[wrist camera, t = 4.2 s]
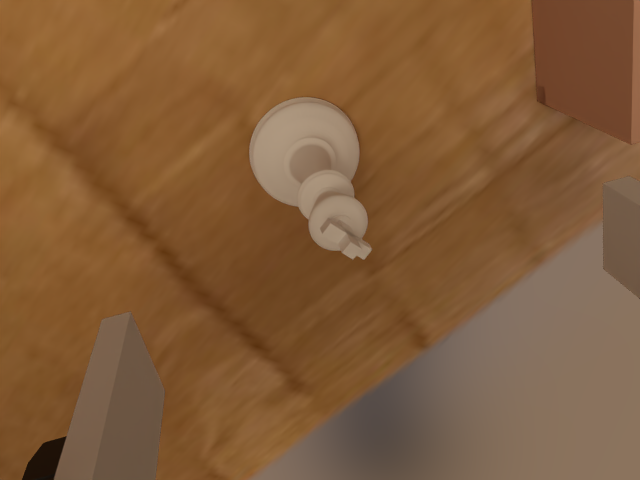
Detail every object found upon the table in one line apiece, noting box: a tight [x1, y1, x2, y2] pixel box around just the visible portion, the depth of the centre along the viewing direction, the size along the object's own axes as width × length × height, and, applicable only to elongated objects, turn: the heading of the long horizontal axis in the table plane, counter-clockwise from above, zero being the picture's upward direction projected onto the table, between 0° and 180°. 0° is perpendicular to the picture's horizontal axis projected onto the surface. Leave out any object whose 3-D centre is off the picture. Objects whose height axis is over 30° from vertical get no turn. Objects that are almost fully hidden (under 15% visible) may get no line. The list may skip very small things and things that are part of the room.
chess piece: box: [249, 97, 372, 260], centre depth 23 cm, size 5×5×10 cm
